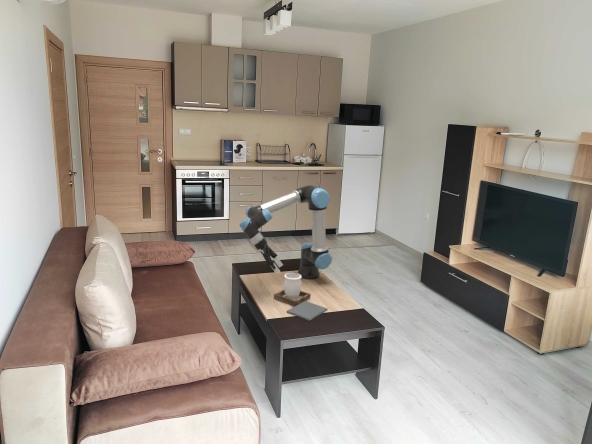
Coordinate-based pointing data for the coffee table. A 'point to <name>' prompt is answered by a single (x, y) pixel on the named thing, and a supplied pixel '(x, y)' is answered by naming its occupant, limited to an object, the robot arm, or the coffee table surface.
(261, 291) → the coffee table surface
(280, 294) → the collar
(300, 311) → the board
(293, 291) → the jar
